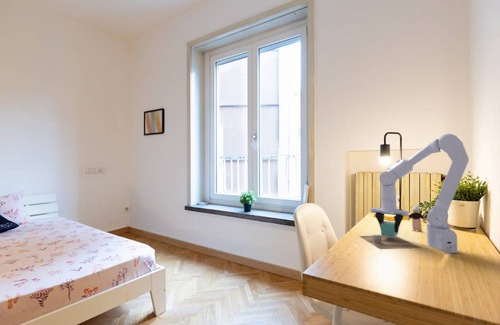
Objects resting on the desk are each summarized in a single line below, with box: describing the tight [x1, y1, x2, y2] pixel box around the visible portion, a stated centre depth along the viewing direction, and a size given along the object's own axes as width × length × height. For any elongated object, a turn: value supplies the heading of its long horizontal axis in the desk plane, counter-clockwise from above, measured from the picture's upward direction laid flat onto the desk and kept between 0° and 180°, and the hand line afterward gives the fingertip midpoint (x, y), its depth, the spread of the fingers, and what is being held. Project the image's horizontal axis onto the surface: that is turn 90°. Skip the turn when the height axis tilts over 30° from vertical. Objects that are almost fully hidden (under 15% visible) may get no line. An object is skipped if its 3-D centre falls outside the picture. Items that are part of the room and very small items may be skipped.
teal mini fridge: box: [380, 220, 399, 237], centre depth 112 cm, size 5×6×5 cm
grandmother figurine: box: [406, 205, 426, 233], centre depth 127 cm, size 8×4×13 cm, turn 84°
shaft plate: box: [359, 234, 422, 250], centre depth 108 cm, size 18×16×4 cm
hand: (389, 231), depth 112 cm, fingers closed on teal mini fridge, 5 cm apart
